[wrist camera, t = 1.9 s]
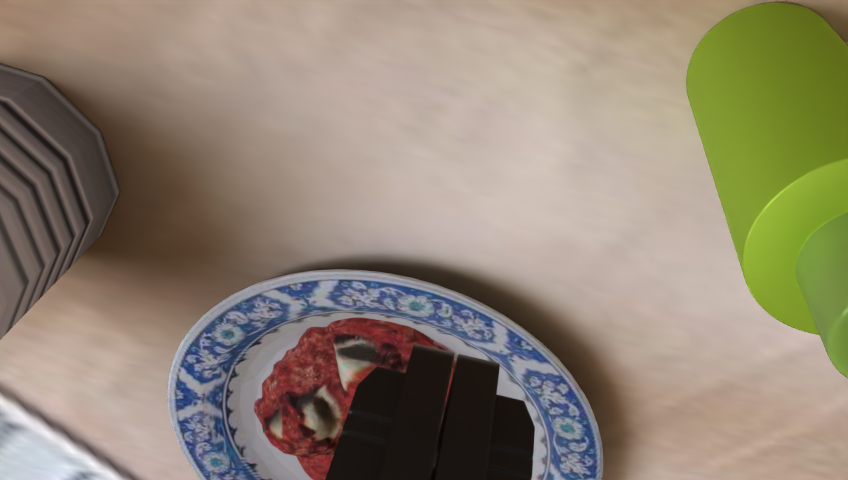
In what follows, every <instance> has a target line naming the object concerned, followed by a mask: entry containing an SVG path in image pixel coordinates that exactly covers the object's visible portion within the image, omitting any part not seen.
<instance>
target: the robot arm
mask: <svg viewBox="0 0 848 480" xmlns="http://www.w3.org/2000/svg"><path fill="white" fill-rule="evenodd" d="M454 355H455V353H453V352H449V351H444V350H440V349H436V348H431V347H427V346H423V345H419V344H414V345H413V348H412V352H411V355H410V359H409V363H408V367H407V370H406V373H403V372H398V371H394V370H390V369H386V368H381V367H376V368H375V369H374V370H373V371H372V372H370V373H369V374H368V375H367V376H366V377H365V378H364V379H363V380H362V381H361V382H360V383H359V384H358V385H357V388H356V391H355V394H354V397H353V400H352V402H351V405H350V408H349V412H348V415H347V417H346V420H345V423H344V426H343V429H342V433H341V436H340V438H339V441H338V444H337V447H336V450H335V452H334V455H333V458H332V461H331V464H330V467H329V470H328V473H327V476H326V479H325V480H531V478H532V470H533V453H534V436H535V426H534V423H533V421H532V419H531V416H530V414H529V411H528V409H527V407H526V404H525V402H524V401H523V400H518V399H514V398H510V397H506V396H501V395H497V386H498V378H499V369H500V363H497V362H492V361H488V360H484V359H480V358H475V357H471V356H467V355H462V354H458V357H457V360H456V364H455V368H454V372H453V376H452V381H451V385H450V389H449V393H448V397H447V401H446V396H447V391H448V386H449V381H450V375H451V370H452V365H453V360H454ZM445 401H446V405H445ZM444 406H445V409H444ZM443 411H444V413H443ZM442 416H443V417H442Z"/></svg>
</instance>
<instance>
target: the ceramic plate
mask: <svg viewBox="0 0 848 480" xmlns="http://www.w3.org/2000/svg"><path fill="white" fill-rule="evenodd" d="M414 344H419V345H423V346H427V347H431V348H436V349H440V350H444V351H449V352H453V353H455V355H454V360H453V365H452V370H451V375H450V381H449V386H448V391H447V396H446V401H447V397H448V393H449V389H450V385H451V381H452V376H453V372H454V368H455V364H456V360H457V357H458V354H462V355H467V356H471V357H475V358H480V359H484V360H488V361H492V362H497V363H500V369H499V378H498V386H497V395H501V396H506V397H510V398H514V399H518V400H523V401H524V402H525V404H526V407H527V409H528V411H529V414H530V416H531V419H532V421H533V423H534V426H535V436H534V453H533V470H532V478H531V480H602V475H603V448H602V440H601V436H600V432H599V428H598V424H597V421H596V419H595V416H594V414H593V411H592V408H591V406H590V403H589V401H588V399H587V397H586V396H585V394H584V393H583V391H582V390H581V388H580V387H579V385H578V383H577V382H576V380H575V379H574V377H573V376H572V374H571V373H570V372H569V371H568V370H567V368H566V367H565V366H564V365H563V364H562V362H561V361H560V360H559V359H558V358H557V357H556V356H555V355H554V354H553V353H552V352H551V351H550V350H549V349H548V348H547V347H546V346H545V345H544V344H543V343H542V342H540V341H539V340H538V339H537V338H535V337H534V336H533V335H532V334H530V333H529V332H528V331H527V330H525V329H524V328H523V327H521V326H520V325H518V324H517V323H515V322H514V321H512V320H511V319H509V318H508V317H506V316H505V315H503V314H501V313H499V312H497V311H496V310H494V309H492V308H490V307H488V306H487V305H485V304H483V303H481V302H479V301H476V300H474V299H472V298H470V297H467V296H465V295H463V294H461V293H458V292H456V291H453V290H450V289H447V288H445V287H442V286H439V285H436V284H433V283H429V282H425V281H422V280H418V279H414V278H411V277H406V276H400V275H395V274H390V273H384V272H375V271H366V270H345V269H332V270H314V271H306V272H300V273H293V274H288V275H284V276H280V277H276V278H273V279H269V280H265V281H261V282H258V283H256V284H254V285H252V286H249V287H247V288H245V289H243V290H241V291H239V292H236V293H234V294H232V295H230V296H229V297H227V298H226V299H224V300H223V301H221V302H220V303H218V304H216V305H215V306H214V307H213V308H212V309H210V310H209V311H208V312H207V313H206V314H204V315H203V316H202V317H201V318H200V319H199V320H198V322H197V323H196V324H195V325H194V326H193V327H192V328H191V329H190V331H189V332H188V333H187V335H186V336H185V338H184V339H183V341H182V342H181V344H180V346H179V348H178V350H177V352H176V355H175V357H174V360H173V363H172V366H171V370H170V375H169V381H168V406H169V414H170V418H171V422H172V426H173V430H174V432H175V435H176V438H177V440H178V443H179V445H180V447H181V449H182V451H183V453H184V455H185V457H186V459H187V460H188V462H189V463H190V465H191V467H192V468H193V470H194V471H195V473H196V474H197V475H198V477H199V478H200V480H325V479H326V476H327V473H328V470H329V467H330V464H331V461H332V458H333V455H334V452H335V450H336V447H337V444H338V441H339V438H340V436H341V433H342V429H343V426H344V423H345V420H346V417H347V415H348V412H349V408H350V405H351V402H352V400H353V397H354V394H355V391H356V388H357V385H358V384H359V383H360V382H361V381H362V380H363V379H364V378H365V377H366V376H367V375H368V374H369V373H370V372H372V371H373V370H374V369H375V368H376V367H381V368H386V369H390V370H394V371H398V372H403V373H406V370H407V367H408V363H409V359H410V355H411V352H412V348H413V345H414ZM446 401H445V405H446ZM444 409H445V406H444ZM443 413H444V411H443ZM442 417H443V416H442Z"/></svg>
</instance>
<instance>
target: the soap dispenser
mask: <svg viewBox="0 0 848 480" xmlns="http://www.w3.org/2000/svg"><path fill="white" fill-rule="evenodd" d="M686 86H687V94H688V98H689V102H690V105H691V108H692V111H693V115H694V118H695V121H696V124H697V127H698V131H699V134H700V137H701V140H702V143H703V147H704V150H705V153H706V156H707V159H708V163H709V166H710V169H711V172H712V175H713V179H714V182H715V185H716V188H717V191H718V195H719V198H720V201H721V204H722V207H723V211H724V214H725V217H726V220H727V223H728V227H729V230H730V233H731V236H732V239H733V243H734V246H735V249H736V252H737V255H738V259H739V262H740V265H741V268H742V271H743V275H744V278H745V281H746V284H747V286H748V288H749V290H750V292H751V294H752V295H753V297H754V298H755V300H756V301H757V302H758V304H759V305H760V306H761V307H762V308H763V309H764V310H765V311H766V312H768V313H769V314H770V315H771V316H773V317H774V318H776V319H777V320H779V321H780V322H782V323H784V324H786V325H788V326H791V327H793V328H795V329H798V330H801V331H805V332H808V333H812V334H817V335H820V337H821V340H822V342H823V345H824V347H825V350H826V352H827V354H828V356H829V358H830V360H831V362H832V363H833V365H834V366H835V367H836V369H837V370H838V371H839V372H840V373H841V374H842V375H844V376H845V377H846V378H848V45H847V44H846V43H845V42H844V41H843V40H842V39H841V37H840V36H839V35H838V34H837V33H836V32H835V31H834V30H833V28H832V27H831V26H830V25H829V24H828V23H827V22H826V21H825V20H824V19H823V18H822V17H821V16H819V15H818V14H816V13H815V12H813V11H811V10H809V9H807V8H805V7H802V6H799V5H795V4H790V3H782V2H772V3H763V4H758V5H754V6H750V7H747V8H744V9H742V10H739V11H737V12H735V13H733V14H731V15H730V16H728V17H726V18H725V19H723V20H722V21H720V22H719V23H718V24H717V25H715V26H714V27H713V28H712V29H711V30H710V31H709V32H708V33H707V34H706V35H705V36H704V38H703V39H702V40H701V42H700V43H699V45H698V46H697V48H696V50H695V51H694V53H693V56H692V58H691V60H690V63H689V67H688V71H687V79H686Z"/></svg>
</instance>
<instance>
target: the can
mask: <svg viewBox="0 0 848 480" xmlns="http://www.w3.org/2000/svg"><path fill="white" fill-rule="evenodd" d="M119 193H120V189H119V186H118V183H117V180H116V177H115V174H114V171H113V168H112V165H111V162H110V159H109V156H108V153H107V150H106V146H105V143H104V140H103V137H102V134H101V131H100V130H99V129H98V128H97V127H96V126H95V125H94V124H93V123H92V122H91V121H90V120H89V119H87V118H86V117H85V116H84V115H83V114H82V113H81V112H80V111H79V110H78V109H77V108H76V107H75V106H74V105H73V104H72V103H71V102H70V101H69V100H68V99H67V98H66V97H65V96H64V95H63V94H61V93H60V92H59V91H58V90H57V89H56V88H55V87H54V86H53V85H52V84H51V83H50V82H49V81H48V80H47V79H46V78H45V77H41V76H38V75H35V74H32V73H28V72H25V71H22V70H19V69H15V68H12V67H9V66H5V65H2V64H0V340H1V339H2V338H3V337H4V335H5V334H6V333H7V332H8V331H9V330H10V329H11V328H12V327H13V326H14V325H15V324H16V323H17V322H18V321H19V320H20V319H21V318H22V317H23V316H24V315H25V314H26V313H27V312H28V310H29V309H30V308H31V307H32V306H33V305H34V304H35V303H36V302H37V301H38V300H39V299H40V298H41V297H42V296H43V295H44V294H45V293H46V292H47V291H48V290H49V289H50V288H51V287H52V285H53V284H54V283H55V282H56V281H57V280H58V279H59V278H60V277H61V276H62V275H63V274H64V273H65V272H66V271H67V270H68V269H69V268H70V267H71V266H72V265H73V264H74V263H75V262H76V260H77V259H78V258H79V257H80V256H81V255H82V254H83V253H84V252H85V251H86V250H87V249H88V248H89V247H90V246H91V245H92V244H93V243H94V242H95V241H96V240H97V239H98V238H99V237H100V235H101V234H102V231H103V229H104V227H105V225H106V222H107V220H108V218H109V216H110V213H111V211H112V209H113V207H114V204H115V202H116V200H117V197H118V195H119Z"/></svg>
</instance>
